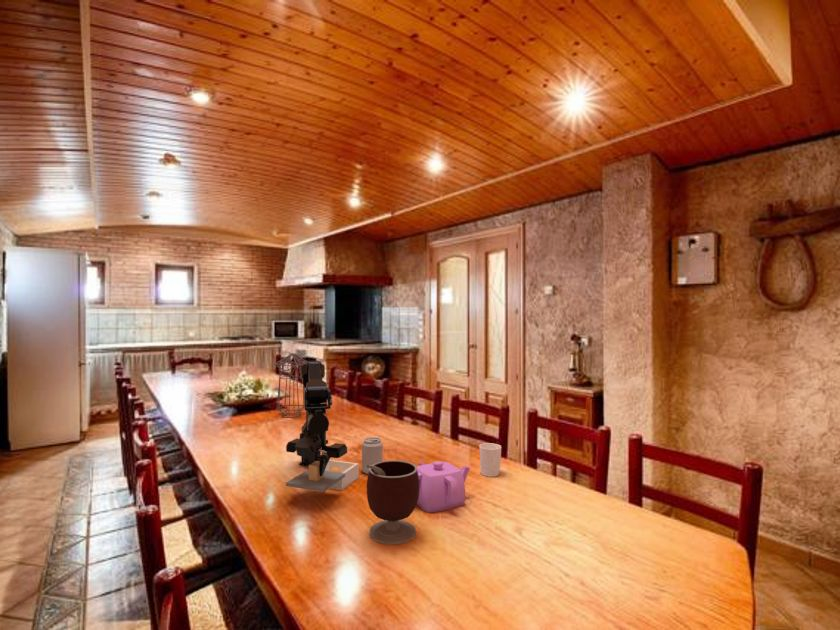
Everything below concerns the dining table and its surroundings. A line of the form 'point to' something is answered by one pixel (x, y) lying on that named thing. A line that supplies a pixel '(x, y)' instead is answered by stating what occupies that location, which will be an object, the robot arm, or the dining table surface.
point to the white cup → (490, 459)
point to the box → (347, 468)
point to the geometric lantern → (289, 383)
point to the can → (371, 452)
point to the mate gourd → (392, 500)
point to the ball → (335, 470)
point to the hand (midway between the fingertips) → (316, 475)
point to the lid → (315, 479)
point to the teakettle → (441, 486)
